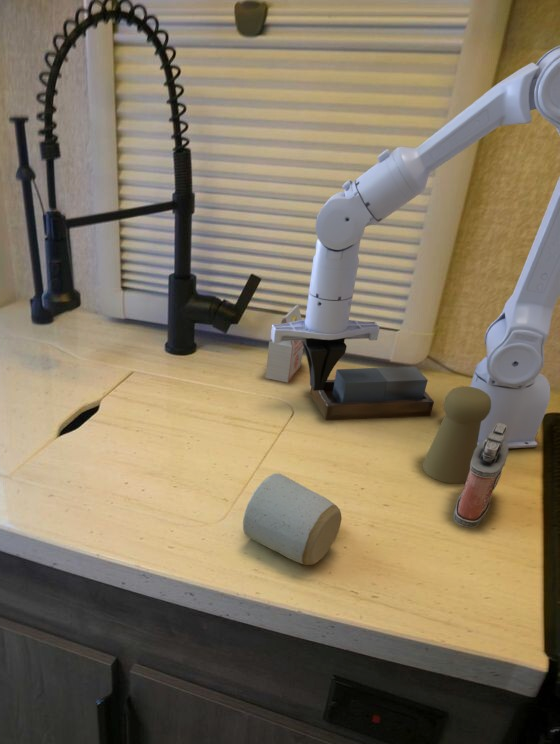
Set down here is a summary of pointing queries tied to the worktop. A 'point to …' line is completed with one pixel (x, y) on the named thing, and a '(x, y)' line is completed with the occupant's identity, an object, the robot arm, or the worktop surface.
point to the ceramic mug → (291, 519)
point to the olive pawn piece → (457, 435)
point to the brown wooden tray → (398, 399)
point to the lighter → (482, 478)
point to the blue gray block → (359, 385)
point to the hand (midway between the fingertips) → (316, 387)
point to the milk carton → (285, 353)
